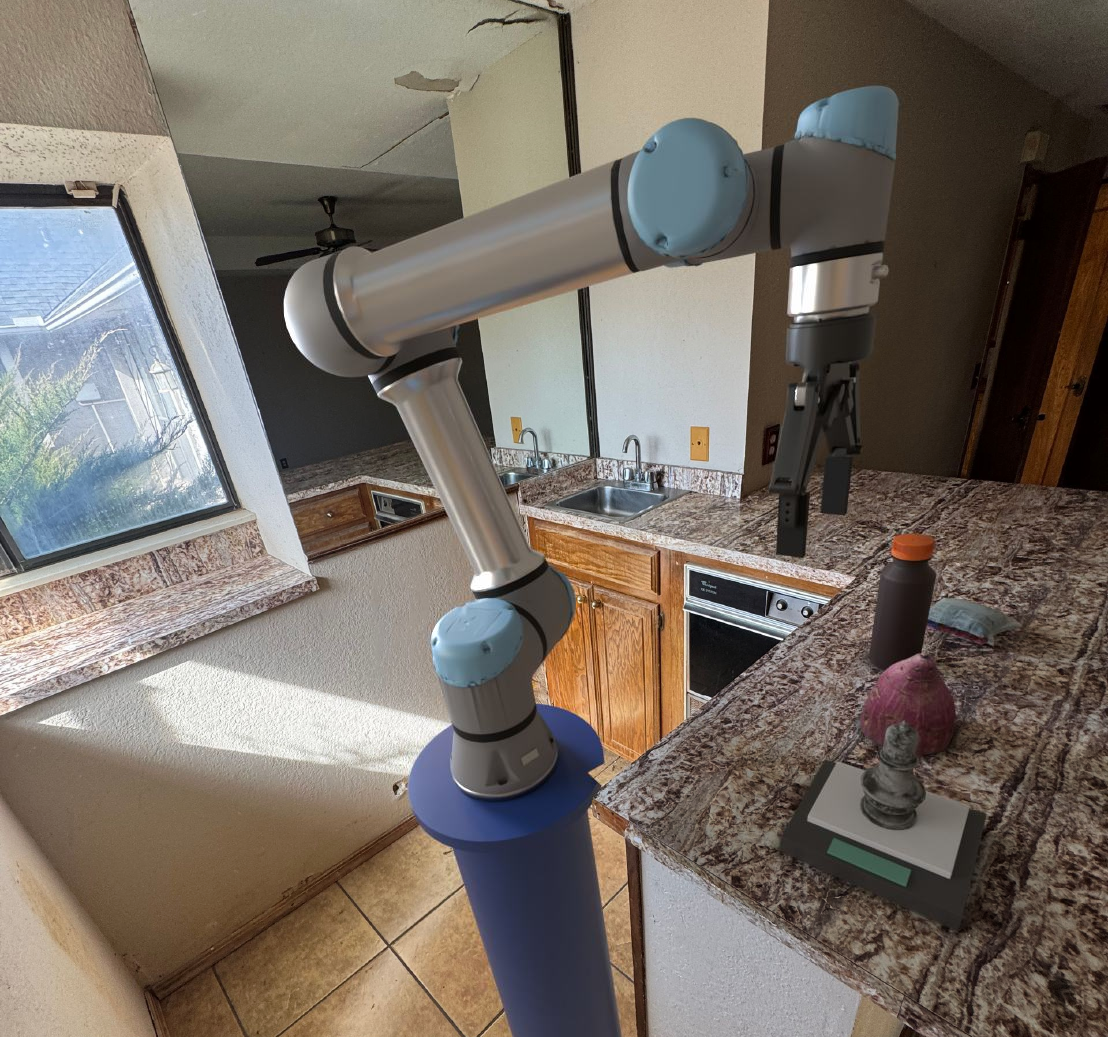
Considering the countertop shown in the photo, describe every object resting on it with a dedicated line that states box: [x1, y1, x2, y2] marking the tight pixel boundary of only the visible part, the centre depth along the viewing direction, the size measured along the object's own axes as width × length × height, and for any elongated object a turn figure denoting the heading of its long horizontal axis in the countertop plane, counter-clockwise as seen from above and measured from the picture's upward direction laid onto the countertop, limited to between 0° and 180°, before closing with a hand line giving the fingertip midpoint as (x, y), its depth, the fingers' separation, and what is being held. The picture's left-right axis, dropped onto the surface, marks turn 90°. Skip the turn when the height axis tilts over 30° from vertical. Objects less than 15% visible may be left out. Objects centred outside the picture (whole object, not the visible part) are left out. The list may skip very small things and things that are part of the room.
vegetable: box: [860, 652, 957, 757], centre depth 70 cm, size 10×10×15 cm
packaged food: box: [926, 596, 1023, 647], centre depth 91 cm, size 9×12×5 cm
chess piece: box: [860, 720, 927, 830], centre depth 57 cm, size 6×6×12 cm
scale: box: [779, 759, 988, 932], centre depth 60 cm, size 16×14×3 cm
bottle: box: [868, 532, 937, 671], centre depth 83 cm, size 7×7×20 cm
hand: (813, 533), depth 63 cm, fingers open, 13 cm apart
